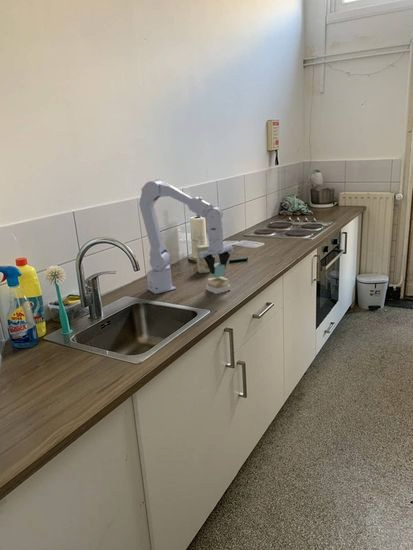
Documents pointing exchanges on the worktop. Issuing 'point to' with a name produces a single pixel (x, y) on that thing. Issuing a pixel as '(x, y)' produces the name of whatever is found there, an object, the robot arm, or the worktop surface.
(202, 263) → the skincare box
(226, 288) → the tower base
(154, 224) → the robot arm
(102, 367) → the worktop surface
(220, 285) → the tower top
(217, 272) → the teal cube
